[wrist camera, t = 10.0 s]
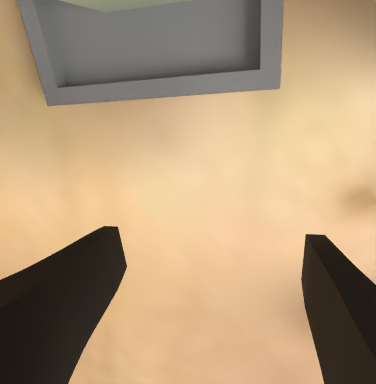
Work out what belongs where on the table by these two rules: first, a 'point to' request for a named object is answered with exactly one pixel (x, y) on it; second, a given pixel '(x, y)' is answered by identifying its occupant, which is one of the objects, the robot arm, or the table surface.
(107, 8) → the cube
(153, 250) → the table surface
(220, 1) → the tray
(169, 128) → the table surface
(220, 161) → the table surface
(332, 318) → the robot arm
